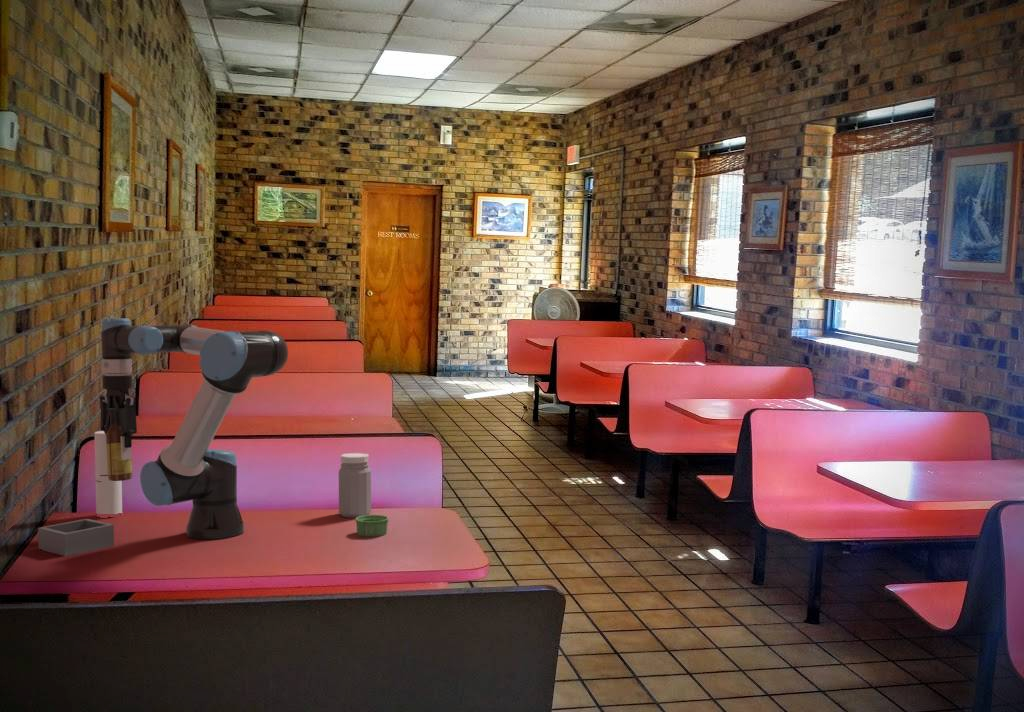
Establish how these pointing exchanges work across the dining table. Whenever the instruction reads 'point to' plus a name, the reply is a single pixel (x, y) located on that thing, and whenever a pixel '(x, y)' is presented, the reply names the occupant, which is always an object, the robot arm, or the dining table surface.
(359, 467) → the jar
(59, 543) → the grey open box
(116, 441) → the sauce bottle
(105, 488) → the cylindrical container
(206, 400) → the robot arm
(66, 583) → the dining table surface
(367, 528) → the ramekin
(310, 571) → the dining table surface
